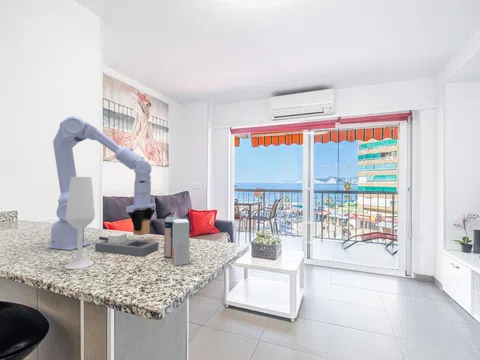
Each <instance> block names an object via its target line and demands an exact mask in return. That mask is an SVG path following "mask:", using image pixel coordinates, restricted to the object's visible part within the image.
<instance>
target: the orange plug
mask: <svg viewBox="0 0 480 360" xmlns="http://www.w3.org/2000/svg"><path fill="white" fill-rule="evenodd" d="M147 219H148V218H143V219H142V225H141V230H140V231H135V230H134V226H133V228H132V229H133V233H132V234H133V235H135V236H136V235H138V236H145V235H147V234H150V231H151V230H150V226H151V225H150V224H151V220H147Z"/></svg>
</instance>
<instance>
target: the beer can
mask: <svg viewBox="0 0 480 360" xmlns="http://www.w3.org/2000/svg"><path fill="white" fill-rule="evenodd" d="M173 219H180V217H179V216H167V217H165V219H164V235H163V236H164V237H163V238H164V239H163V243H164V244H163V256H164V257H166V258H169V259H172V239H173Z"/></svg>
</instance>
